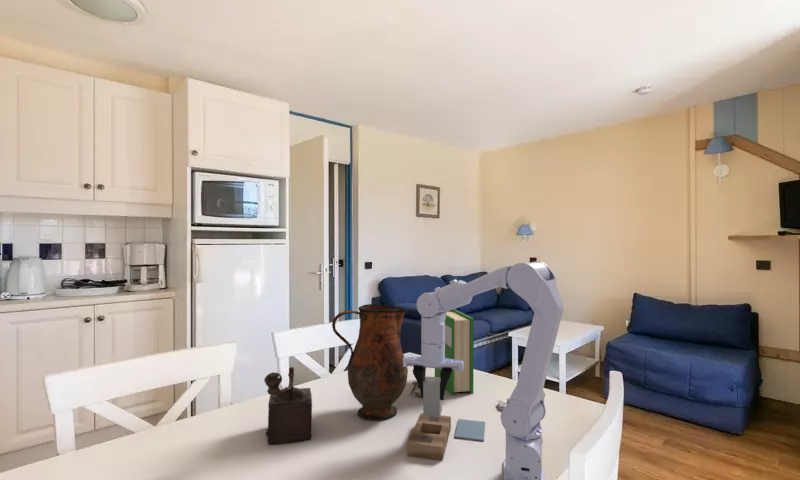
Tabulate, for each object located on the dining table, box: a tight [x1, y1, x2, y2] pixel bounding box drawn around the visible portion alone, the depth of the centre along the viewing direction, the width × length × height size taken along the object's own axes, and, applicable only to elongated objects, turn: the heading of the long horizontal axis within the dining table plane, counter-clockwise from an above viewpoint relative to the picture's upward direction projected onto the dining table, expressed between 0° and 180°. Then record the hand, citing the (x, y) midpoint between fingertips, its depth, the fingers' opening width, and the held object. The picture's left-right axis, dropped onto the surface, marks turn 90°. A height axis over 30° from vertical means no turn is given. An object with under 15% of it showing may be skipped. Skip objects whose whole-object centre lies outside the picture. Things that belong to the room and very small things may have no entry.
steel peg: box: [422, 375, 443, 417], centre depth 97 cm, size 4×4×8 cm
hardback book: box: [434, 309, 475, 396], centre depth 136 cm, size 18×7×24 cm, turn 12°
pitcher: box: [331, 303, 409, 422], centre depth 112 cm, size 17×21×30 cm
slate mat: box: [454, 418, 486, 442], centre depth 103 cm, size 10×7×1 cm
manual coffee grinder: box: [263, 366, 313, 445], centre depth 99 cm, size 16×11×18 cm
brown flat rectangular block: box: [406, 412, 452, 462], centre depth 97 cm, size 16×8×3 cm, turn 166°
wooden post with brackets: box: [409, 381, 421, 398], centre depth 125 cm, size 2×8×4 cm, turn 84°
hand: (432, 397), depth 97 cm, fingers closed on steel peg, 4 cm apart
